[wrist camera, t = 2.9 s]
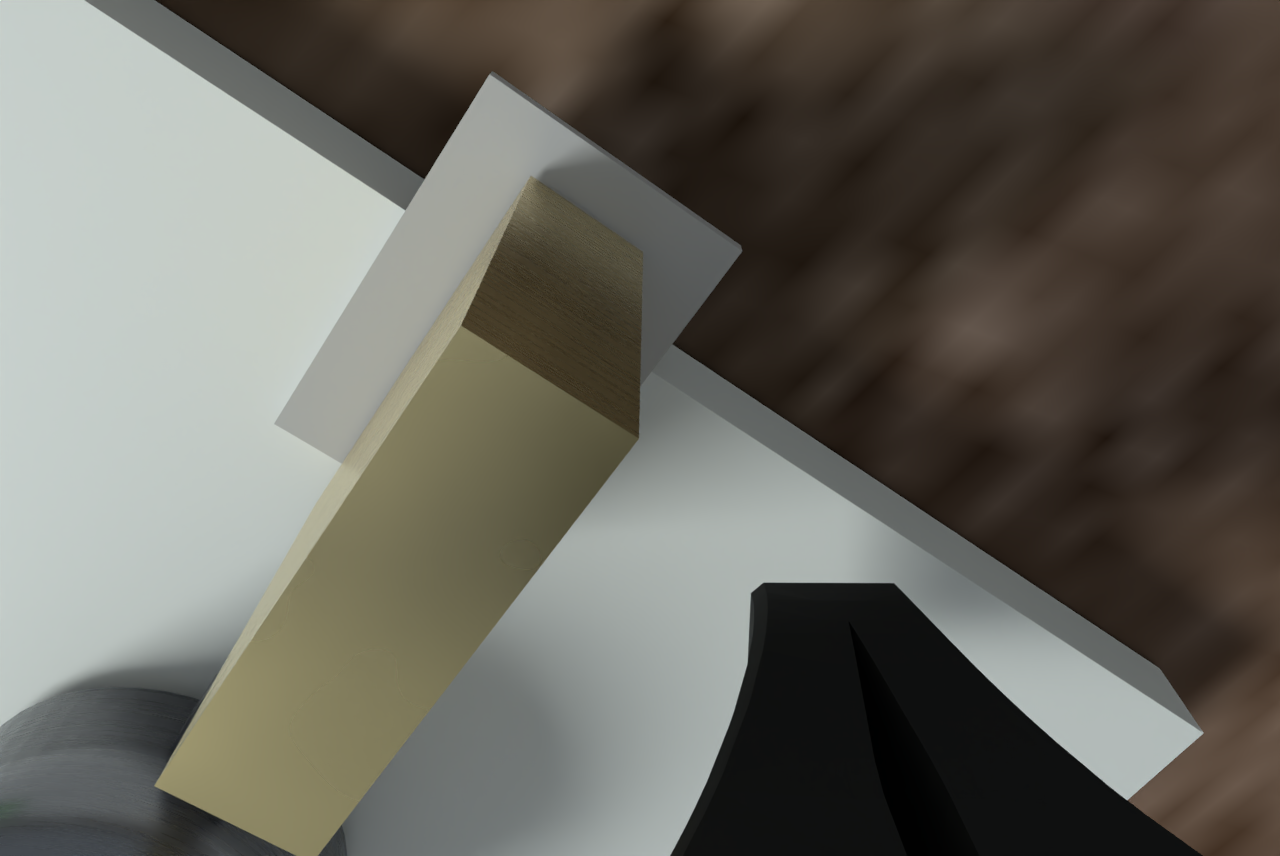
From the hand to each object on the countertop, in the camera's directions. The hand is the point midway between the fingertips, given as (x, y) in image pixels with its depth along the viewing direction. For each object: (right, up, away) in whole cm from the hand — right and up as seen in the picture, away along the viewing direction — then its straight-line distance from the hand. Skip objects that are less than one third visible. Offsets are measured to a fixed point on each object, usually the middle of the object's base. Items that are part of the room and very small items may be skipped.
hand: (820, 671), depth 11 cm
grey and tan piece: (-5, 0, +1) cm, 5 cm away
